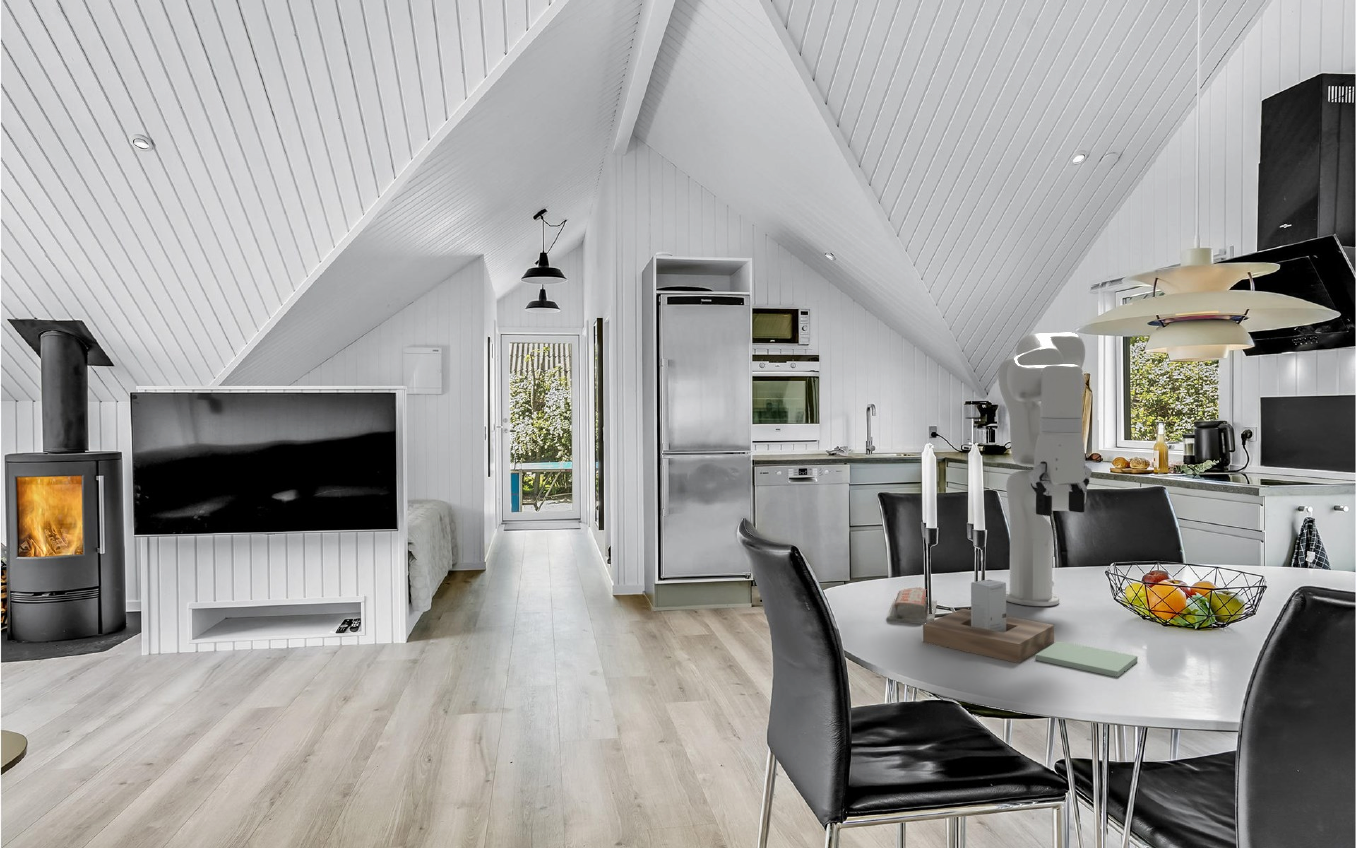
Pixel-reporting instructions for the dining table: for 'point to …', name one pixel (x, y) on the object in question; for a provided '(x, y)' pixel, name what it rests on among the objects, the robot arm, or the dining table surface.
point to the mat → (1087, 658)
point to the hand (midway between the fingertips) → (1060, 513)
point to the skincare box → (988, 605)
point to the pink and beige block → (912, 607)
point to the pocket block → (989, 636)
